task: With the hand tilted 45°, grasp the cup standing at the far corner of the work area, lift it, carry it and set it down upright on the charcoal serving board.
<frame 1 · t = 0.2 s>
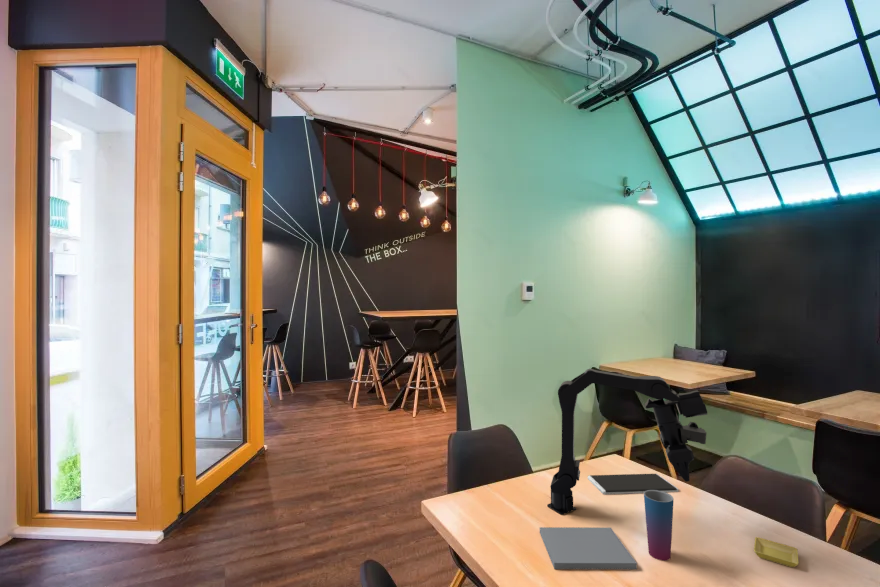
hand: (684, 474, 119), 15 cm above the table, tool pointing down, fingers open, 9 cm apart
black tablet: (631, 486, 148), on the table
cup: (659, 555, 107), on the table
board: (584, 549, 109), on the table
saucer: (775, 558, 106), on the table
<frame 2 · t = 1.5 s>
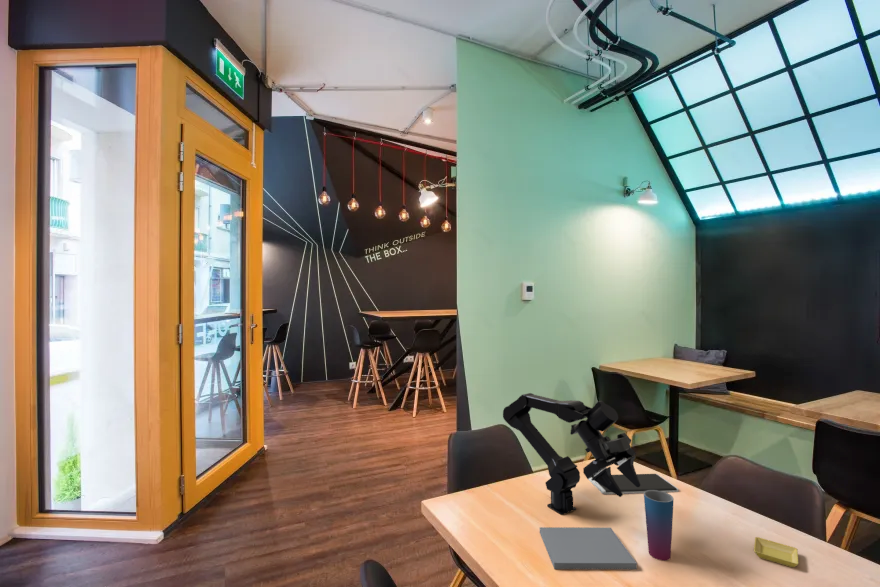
hand: (630, 491, 113), 13 cm above the table, tool tilted 45°, fingers open, 9 cm apart
nothing on the table moved.
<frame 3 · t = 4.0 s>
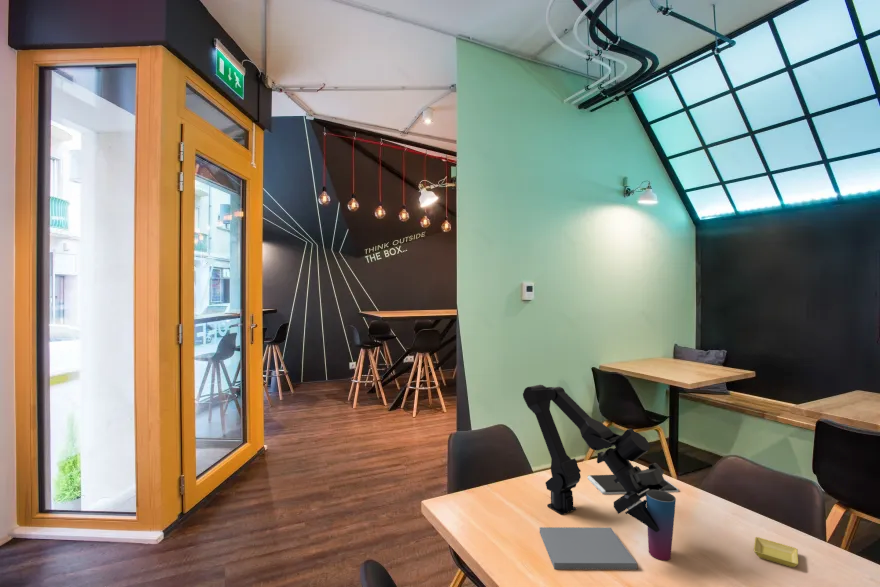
hand: (664, 527, 106), 8 cm above the table, tool tilted 45°, fingers closed on cup, 6 cm apart
cup: (659, 555, 107), on the table, touching gripper
everything else where it was.
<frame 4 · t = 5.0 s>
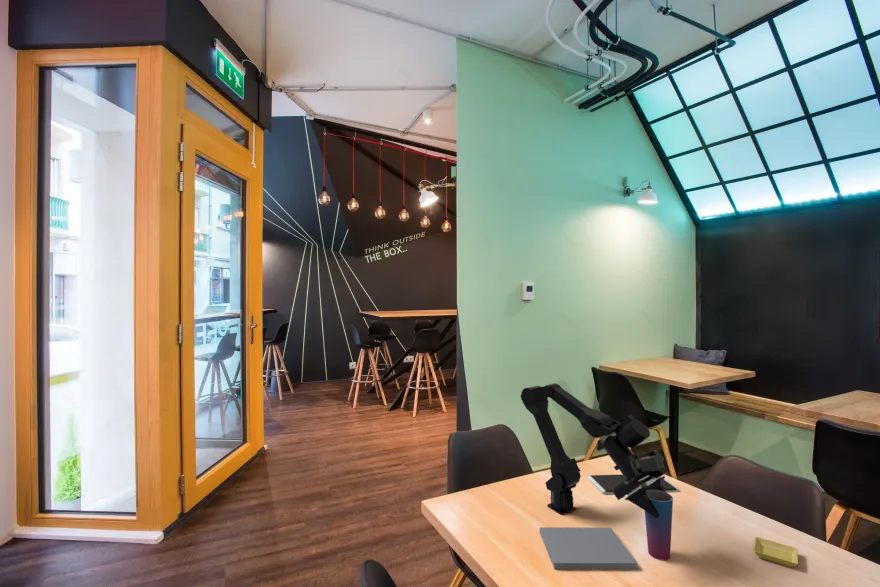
hand: (664, 513, 106), 11 cm above the table, tool tilted 45°, fingers closed on cup, 6 cm apart
cup: (659, 554, 107), on the table, touching gripper
everything else where it was.
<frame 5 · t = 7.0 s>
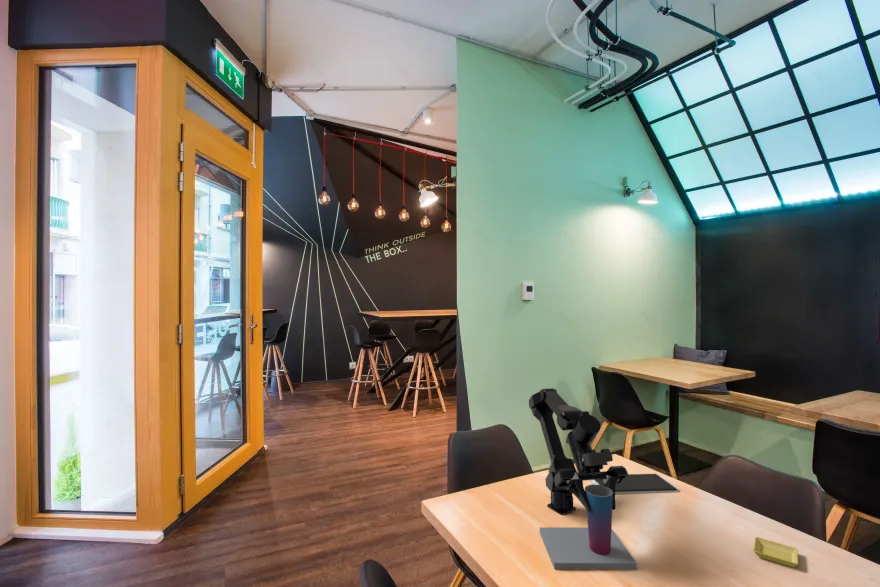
hand: (602, 510, 105), 12 cm above the table, tool tilted 45°, fingers closed on cup, 6 cm apart
cup: (600, 549, 107), point 1 cm above the table, touching board, gripper
everything else where it was.
when the fingers open (11 cm above the table, at t = 7.9 s): cup stays where it is, resting on board.
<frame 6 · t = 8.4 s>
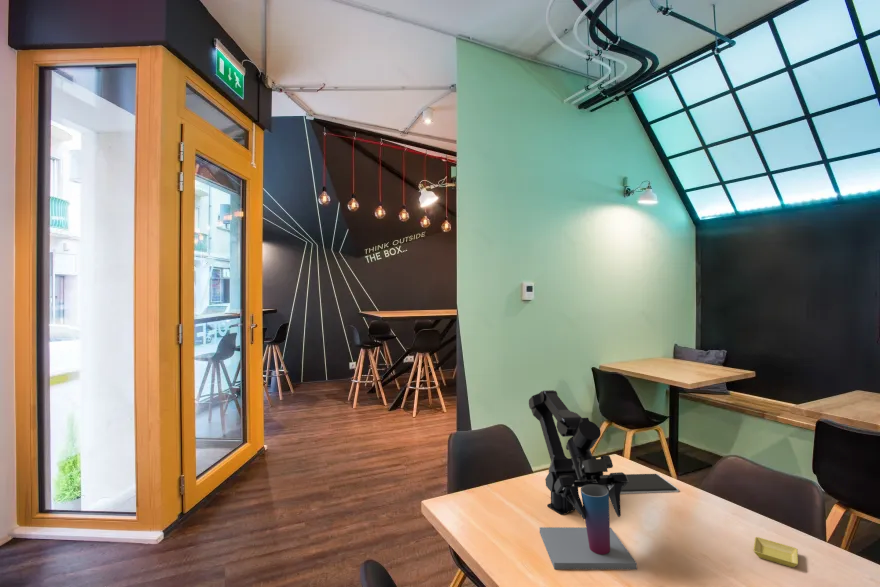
hand: (602, 517, 105), 10 cm above the table, tool tilted 45°, fingers open, 9 cm apart
cup: (599, 549, 107), point 2 cm above the table, touching board, gripper
everything else where it was.
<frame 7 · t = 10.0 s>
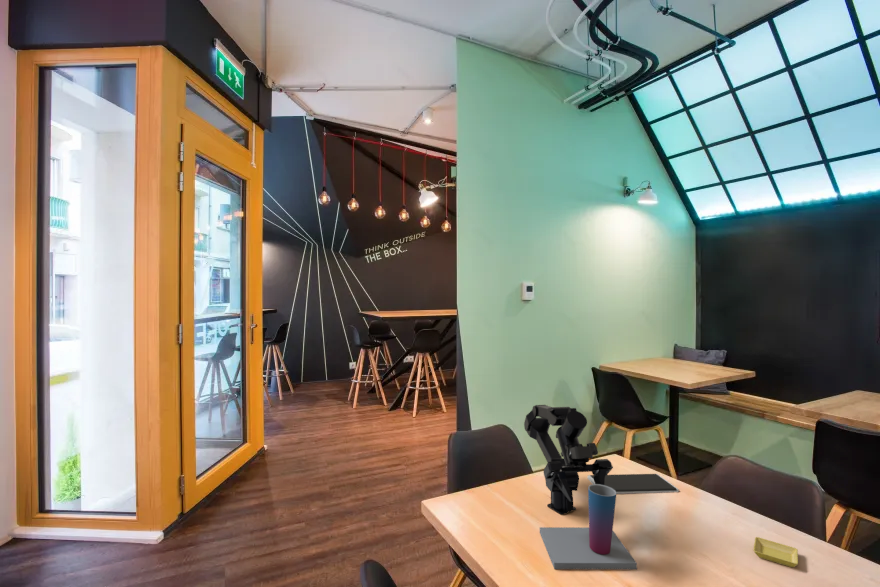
hand: (587, 500, 113), 11 cm above the table, tool tilted 45°, fingers open, 9 cm apart
cup: (599, 549, 107), point 1 cm above the table, touching board
everything else where it was.
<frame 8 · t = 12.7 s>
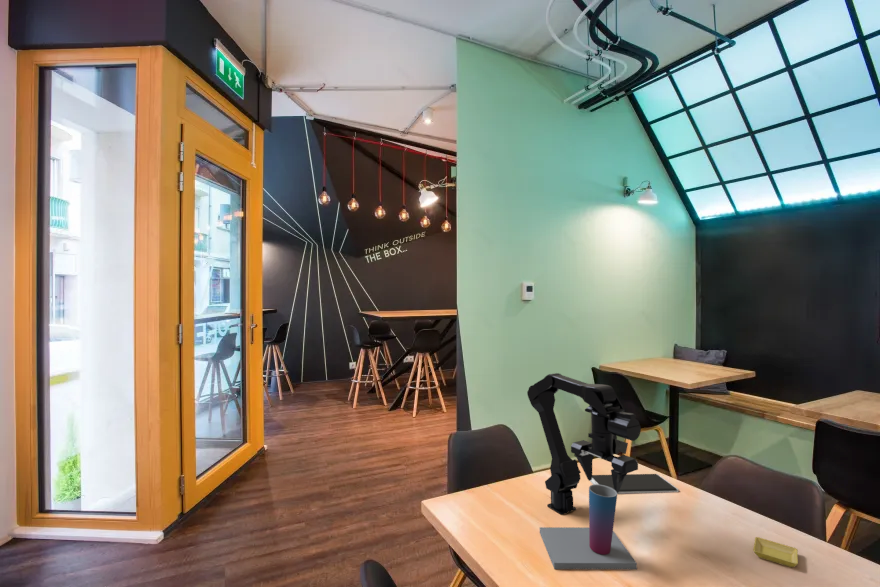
hand: (603, 486, 117), 13 cm above the table, tool pointing down, fingers open, 9 cm apart
nothing on the table moved.
at the end: cup inside the target area on the board (0.1 cm from its centre), point 1.5 cm above the board's base; cup tilted 3°; the gripper is holding nothing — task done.
